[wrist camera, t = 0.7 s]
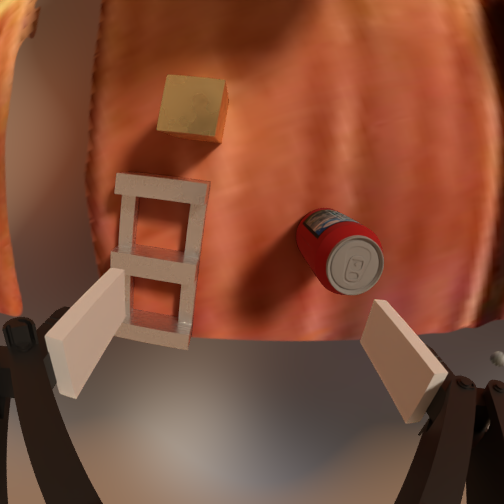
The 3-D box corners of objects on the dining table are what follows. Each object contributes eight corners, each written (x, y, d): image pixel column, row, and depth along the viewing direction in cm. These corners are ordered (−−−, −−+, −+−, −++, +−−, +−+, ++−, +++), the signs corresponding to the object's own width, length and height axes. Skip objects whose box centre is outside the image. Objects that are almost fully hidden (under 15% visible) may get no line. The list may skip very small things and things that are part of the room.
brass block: (186, 96, 32) (167, 74, 22) (229, 102, 32) (225, 80, 23) (178, 138, 33) (156, 130, 24) (221, 143, 34) (214, 136, 24)
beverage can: (353, 213, 36) (400, 237, 25) (339, 265, 38) (376, 307, 27) (302, 200, 36) (331, 220, 24) (288, 255, 38) (309, 296, 26)
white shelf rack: (128, 171, 34) (116, 173, 30) (210, 181, 35) (207, 183, 31) (121, 320, 39) (111, 335, 35) (191, 333, 40) (187, 350, 36)
